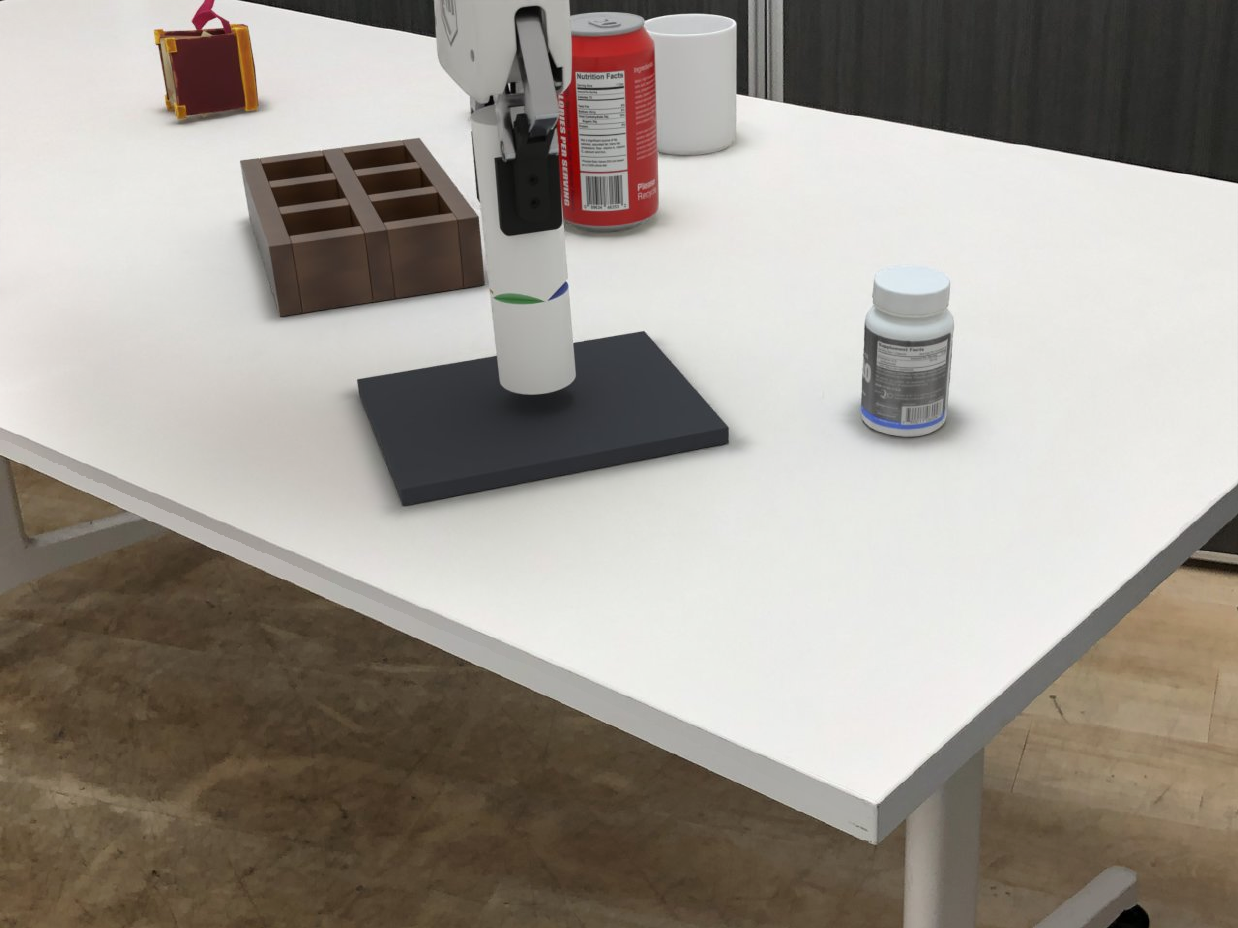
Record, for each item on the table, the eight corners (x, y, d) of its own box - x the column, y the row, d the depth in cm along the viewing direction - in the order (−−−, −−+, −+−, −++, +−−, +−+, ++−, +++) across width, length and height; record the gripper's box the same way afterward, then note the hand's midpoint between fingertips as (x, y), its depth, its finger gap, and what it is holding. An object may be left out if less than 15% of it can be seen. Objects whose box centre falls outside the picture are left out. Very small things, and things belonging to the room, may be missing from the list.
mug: (633, 170, 121) (629, 46, 116) (589, 146, 128) (583, 28, 123) (754, 146, 126) (755, 26, 121) (705, 124, 132) (704, 9, 127)
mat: (402, 506, 74) (400, 489, 73) (358, 394, 85) (356, 378, 85) (729, 443, 78) (729, 427, 78) (644, 345, 90) (644, 330, 90)
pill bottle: (870, 395, 83) (877, 257, 79) (953, 406, 81) (964, 266, 77) (850, 432, 79) (857, 289, 75) (937, 444, 77) (948, 299, 73)
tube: (487, 372, 82) (457, 111, 74) (555, 354, 83) (533, 97, 76) (518, 401, 78) (489, 131, 71) (588, 381, 80) (568, 115, 73)
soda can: (589, 245, 106) (578, 38, 99) (539, 216, 112) (525, 19, 105) (678, 223, 109) (675, 21, 102) (625, 196, 115) (618, 4, 108)
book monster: (167, 125, 138) (166, 101, 149) (263, 117, 140) (255, 94, 151) (148, 10, 134) (149, -6, 144) (247, 3, 136) (241, -12, 146)
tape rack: (280, 317, 96) (268, 246, 94) (250, 222, 113) (239, 160, 111) (485, 285, 100) (479, 216, 97) (426, 198, 117) (419, 137, 114)
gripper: (381, -169, 73) (418, 179, 82) (452, -134, 59) (487, 281, 68) (523, -178, 75) (544, 163, 84) (625, -147, 61) (637, 259, 70)
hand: (518, 212), depth 76 cm, fingers closed on tube, 4 cm apart
